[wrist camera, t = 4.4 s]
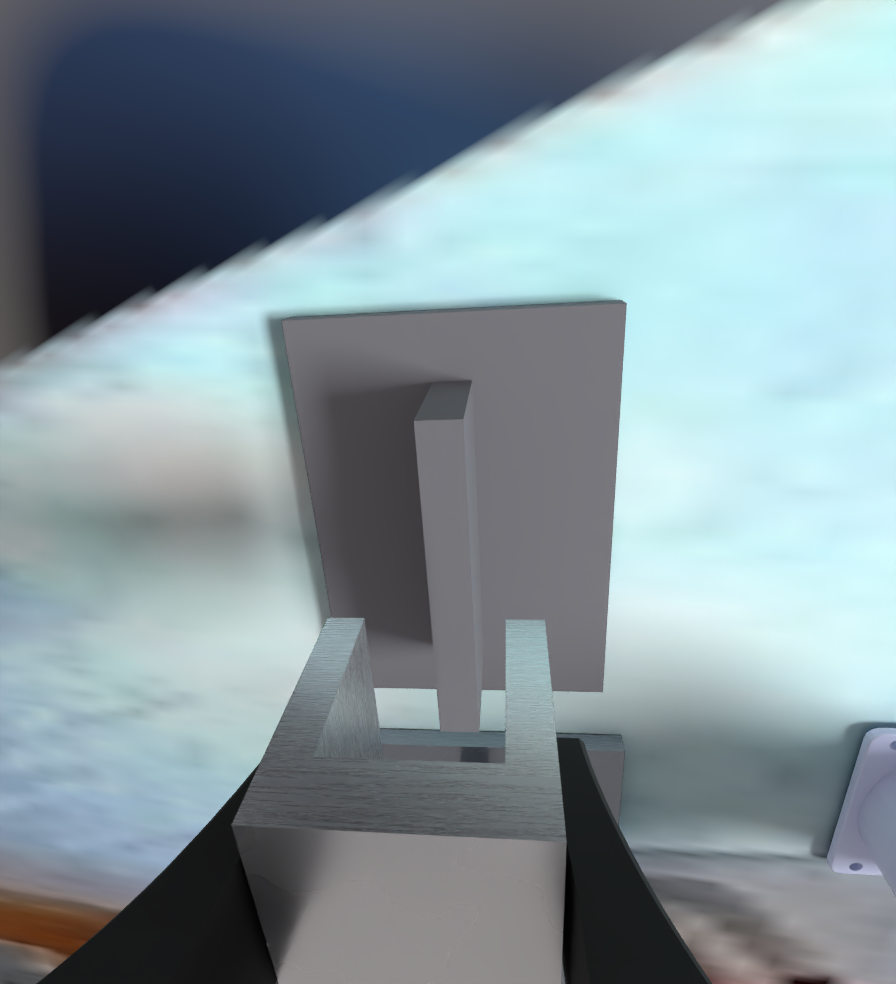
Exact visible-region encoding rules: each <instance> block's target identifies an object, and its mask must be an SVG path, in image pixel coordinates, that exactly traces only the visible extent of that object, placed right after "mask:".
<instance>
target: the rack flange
mask: <svg viewBox="0 0 896 984" xmlns="http://www.w3.org/2000/svg"><path fill="white" fill-rule="evenodd" d="M379 730H380V737H381V744H382V752H383V759H390V760H417V761H445V762H472V763H499V764H505V752H506V732H447V731H439V730H401V729H379ZM556 737H559V738H579V739H580V740H582V741H583V742H584V744H585V747H586V750H587V754H588V756H589V759H590V762H591V765H592V768H593V770H594V773H595V775H596V778H597V780H598V783H599V785H600V787H601V790H602V792H603V794H604V796H605V799H606V801H607V803H608V805H609V808H610V810H611V812H612V814H613V816H614V818H615V820H616V822H617V824H618V825H619V813H620V802H621V790H622V778H623V767H624V755H625V750H624V745H623V741H622V737H621V735H589V734H556ZM561 984H565V978H564V971H563V964H562V970H561Z"/></svg>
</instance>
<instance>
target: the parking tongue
mask: <svg viewBox="0 0 896 984" xmlns="http://www.w3.org/2000/svg"><path fill="white" fill-rule="evenodd" d="M626 305H627V303H625V302H623V301H622V300H618V301H598V302H579V303H559V304H540V305H520V306H501V307H481V308H462V309H442V310H423V311H403V312H383V313H364V314H344V315H325V316H305V317H290V318H287V319H285V320H282V327H283V333H284V339H285V345H286V351H287V357H288V363H289V369H290V375H291V381H292V386H293V392H294V398H295V404H296V410H297V416H298V422H299V428H300V434H301V440H302V446H303V451H304V457H305V463H306V469H307V475H308V481H309V487H310V493H311V499H312V505H313V510H314V516H315V522H316V528H317V534H318V540H319V546H320V552H321V558H322V564H323V570H324V575H325V581H326V587H327V593H328V599H329V605H330V611H331V617H332V618H364V620H365V627H366V635H367V642H368V649H369V656H370V664H371V671H372V678H373V686H374V688H419V689H437V697H438V708H439V720H440V731H447V732H479V726H480V707H481V690H506V620H545V626H546V636H547V647H548V657H549V667H550V677H551V687H552V691H577V692H603V677H604V661H605V645H606V629H607V613H608V596H609V580H610V564H611V548H612V532H613V515H614V499H615V483H616V467H617V451H618V435H619V418H620V402H621V386H622V370H623V354H624V337H625V321H626Z"/></svg>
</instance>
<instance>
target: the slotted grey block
mask: <svg viewBox="0 0 896 984" xmlns="http://www.w3.org/2000/svg"><path fill="white" fill-rule="evenodd" d="M231 826H232V829H233V833H234V836H235V839H236V843H237V846H238V849H239V853H240V856H241V859H242V863H243V866H244V869H245V873H246V876H247V879H248V883H249V886H250V889H251V893H252V896H253V899H254V903H255V906H256V909H257V913H258V916H259V919H260V923H261V926H262V929H263V933H264V936H265V939H266V943H267V946H268V949H269V953H270V956H271V959H272V963H273V966H274V969H275V973H276V976H277V979H278V983H279V984H561V970H562V945H563V920H564V896H565V871H566V846H567V840H566V830H565V820H564V810H563V800H562V789H561V779H560V769H559V759H558V749H557V738H556V728H555V718H554V708H553V698H552V687H551V677H550V667H549V657H548V647H547V636H546V626H545V620H506V752H505V764H499V763H472V762H445V761H417V760H390V759H383V752H382V744H381V737H380V730H379V722H378V715H377V708H376V700H375V693H374V686H373V678H372V671H371V664H370V656H369V649H368V642H367V635H366V627H365V620H364V618H327V620H326V622H325V625H324V627H323V629H322V631H321V633H320V635H319V638H318V640H317V642H316V644H315V646H314V648H313V650H312V653H311V655H310V657H309V659H308V661H307V663H306V665H305V668H304V670H303V672H302V674H301V676H300V678H299V681H298V683H297V685H296V687H295V689H294V691H293V693H292V696H291V698H290V700H289V702H288V704H287V706H286V709H285V711H284V713H283V715H282V717H281V719H280V721H279V724H278V726H277V728H276V730H275V732H274V734H273V736H272V739H271V741H270V743H269V745H268V747H267V749H266V752H265V754H264V756H263V758H262V760H261V762H260V764H259V767H258V769H257V771H256V773H255V775H254V777H253V780H252V782H251V784H250V786H249V788H248V790H247V792H246V795H245V797H244V799H243V801H242V803H241V805H240V807H239V810H238V812H237V814H236V816H235V818H234V820H233V823H232V825H231Z"/></svg>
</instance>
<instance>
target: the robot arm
mask: <svg viewBox="0 0 896 984" xmlns="http://www.w3.org/2000/svg"><path fill="white" fill-rule="evenodd" d="M556 738H557V749H558V759H559V769H560V779H561V789H562V800H563V810H564V820H565V830H566V840H567V846H566V871H565V896H564V920H563V945H562V964H563V971H564V978H565V984H712V983H711V981H710V980H709V978H708V977H707V975H706V974H705V972H704V971H703V969H702V968H701V967H700V965H699V964H698V962H697V961H696V959H695V958H694V956H693V954H692V953H691V951H690V950H689V948H688V947H687V945H686V944H685V942H684V941H683V939H682V937H681V936H680V934H679V933H678V931H677V930H676V928H675V926H674V925H673V923H672V922H671V920H670V918H669V917H668V915H667V913H666V912H665V910H664V908H663V907H662V905H661V903H660V902H659V900H658V898H657V897H656V895H655V893H654V891H653V890H652V888H651V886H650V884H649V883H648V881H647V879H646V877H645V876H644V874H643V872H642V870H641V868H640V867H639V865H638V863H637V861H636V859H635V857H634V855H633V854H632V852H631V850H630V848H629V846H628V844H627V842H626V840H625V838H624V836H623V834H622V832H621V830H620V828H619V826H618V824H617V822H616V820H615V818H614V816H613V814H612V812H611V810H610V808H609V805H608V803H607V801H606V799H605V796H604V794H603V792H602V790H601V787H600V785H599V783H598V780H597V778H596V775H595V773H594V770H593V768H592V765H591V762H590V759H589V756H588V754H587V750H586V747H585V744H584V742H583V741H582V740H580V739H579V738H559V737H556ZM259 764H260V763H259ZM258 767H259V765H258V766H257V767H256V768H255V769H254V771H253V772H252V773H251V774H250V775H249V777H248V778H247V779H246V780H245V781H244V783H243V784H242V785H241V786H240V787H239V789H238V790H237V791H236V792H235V793H234V794H233V795H232V797H231V798H230V799H229V800H228V801H227V802H226V803H225V805H224V806H223V807H222V808H221V809H220V810H219V812H218V813H217V814H216V815H215V816H214V817H213V818H212V820H211V821H210V822H209V823H208V824H207V825H206V826H205V827H204V828H203V830H202V831H201V832H200V833H199V834H198V835H197V836H196V837H195V838H194V839H193V840H192V841H191V842H190V843H189V844H188V845H187V846H186V848H185V849H184V850H183V851H182V852H181V853H180V854H179V855H178V856H177V857H176V858H175V859H174V860H173V861H172V862H171V863H170V865H169V866H168V867H167V868H166V869H165V870H164V871H163V872H162V873H161V874H160V875H159V876H158V877H157V878H156V879H155V880H154V881H153V882H152V883H151V884H150V885H148V886H147V887H146V888H145V889H144V890H143V891H142V892H141V893H140V894H139V895H138V896H137V897H136V898H135V899H134V900H133V901H132V902H131V903H130V904H129V905H127V906H126V907H125V908H124V909H123V910H122V911H121V912H120V913H119V914H118V915H117V916H116V917H115V918H113V919H112V920H111V921H110V922H109V923H108V924H107V925H106V926H104V927H103V928H102V929H101V930H100V931H99V932H98V933H96V934H95V935H94V936H93V937H92V938H91V939H90V940H88V941H87V942H86V943H85V944H84V945H83V946H82V947H80V948H79V949H78V950H77V951H76V952H75V953H73V954H72V955H71V956H70V957H69V958H68V959H66V960H65V961H64V962H63V963H62V964H60V965H59V966H58V967H57V968H56V969H54V970H53V971H52V972H51V973H49V974H48V975H47V976H46V977H44V978H43V979H42V980H41V981H39V982H38V983H37V984H275V983H276V980H277V976H276V973H275V969H274V966H273V963H272V959H271V956H270V953H269V949H268V946H267V943H266V939H265V936H264V933H263V929H262V926H261V923H260V919H259V916H258V913H257V909H256V906H255V903H254V899H253V896H252V893H251V889H250V886H249V883H248V879H247V876H246V873H245V869H244V866H243V863H242V859H241V856H240V853H239V849H238V846H237V843H236V839H235V836H234V833H233V829H232V826H231V825H232V823H233V820H234V818H235V816H236V814H237V812H238V810H239V807H240V805H241V803H242V801H243V799H244V797H245V795H246V792H247V790H248V788H249V786H250V784H251V782H252V780H253V777H254V775H255V773H256V771H257V769H258ZM827 862H828V864H829V866H830V868H831V869H832V870H833V871H835V872H838V873H849V874H869V875H883V876H884V878H885V880H886V881H887V883H888V885H889V887H890V888H891V890H892V892H893V893H894V895H895V897H896V728H874V729H872V730H870V731H868V732H867V733H866V734H865V736H864V738H863V742H862V745H861V748H860V751H859V755H858V758H857V761H856V764H855V767H854V771H853V774H852V777H851V780H850V784H849V787H848V790H847V793H846V797H845V800H844V803H843V806H842V810H841V813H840V816H839V819H838V823H837V826H836V829H835V832H834V836H833V839H832V842H831V845H830V849H829V852H828V855H827Z"/></svg>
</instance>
